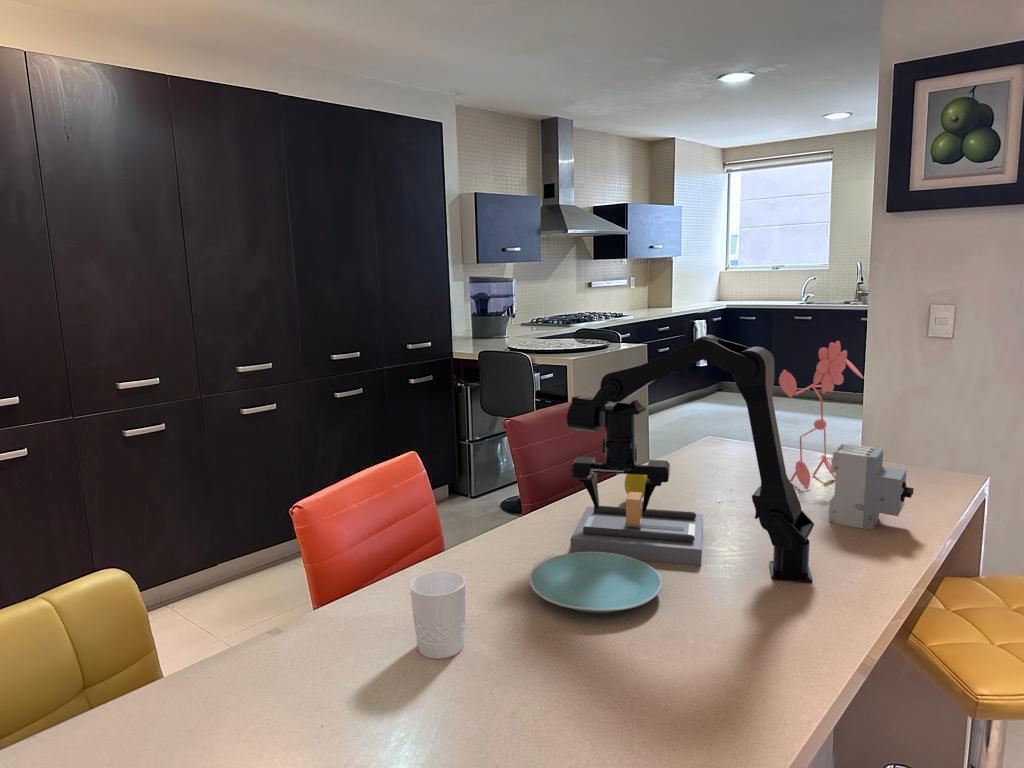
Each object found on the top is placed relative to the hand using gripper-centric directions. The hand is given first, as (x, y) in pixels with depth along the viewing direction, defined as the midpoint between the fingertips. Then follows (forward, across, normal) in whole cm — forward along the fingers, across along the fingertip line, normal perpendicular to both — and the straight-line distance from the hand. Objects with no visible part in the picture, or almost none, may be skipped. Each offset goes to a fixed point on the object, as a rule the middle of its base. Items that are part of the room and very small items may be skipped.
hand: (620, 510), depth 136 cm
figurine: (+6, -44, -42) cm, 61 cm away
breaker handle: (+3, -3, 0) cm, 4 cm away
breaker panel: (+6, -4, 0) cm, 7 cm away
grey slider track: (+3, -4, 0) cm, 5 cm away
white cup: (+6, +20, +45) cm, 50 cm away
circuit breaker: (+6, -49, -19) cm, 53 cm away
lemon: (+6, -1, -23) cm, 24 cm away
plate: (+6, +1, +23) cm, 24 cm away
